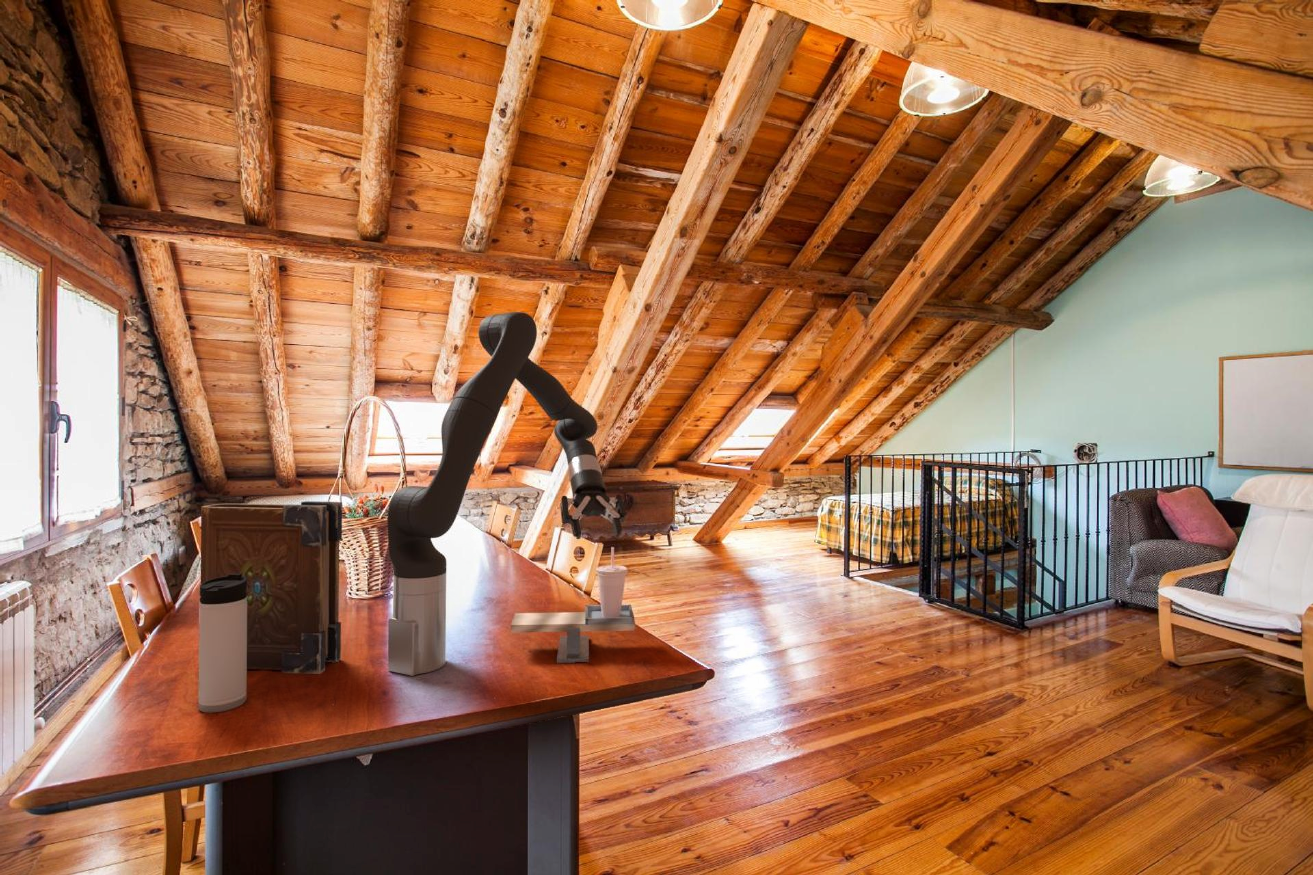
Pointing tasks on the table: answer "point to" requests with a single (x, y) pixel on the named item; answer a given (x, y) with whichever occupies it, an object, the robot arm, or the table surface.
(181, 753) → the table surface
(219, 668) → the travel mug
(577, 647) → the pivot stand
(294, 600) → the decorative book
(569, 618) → the balance beam
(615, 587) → the smoothie
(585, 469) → the robot arm
